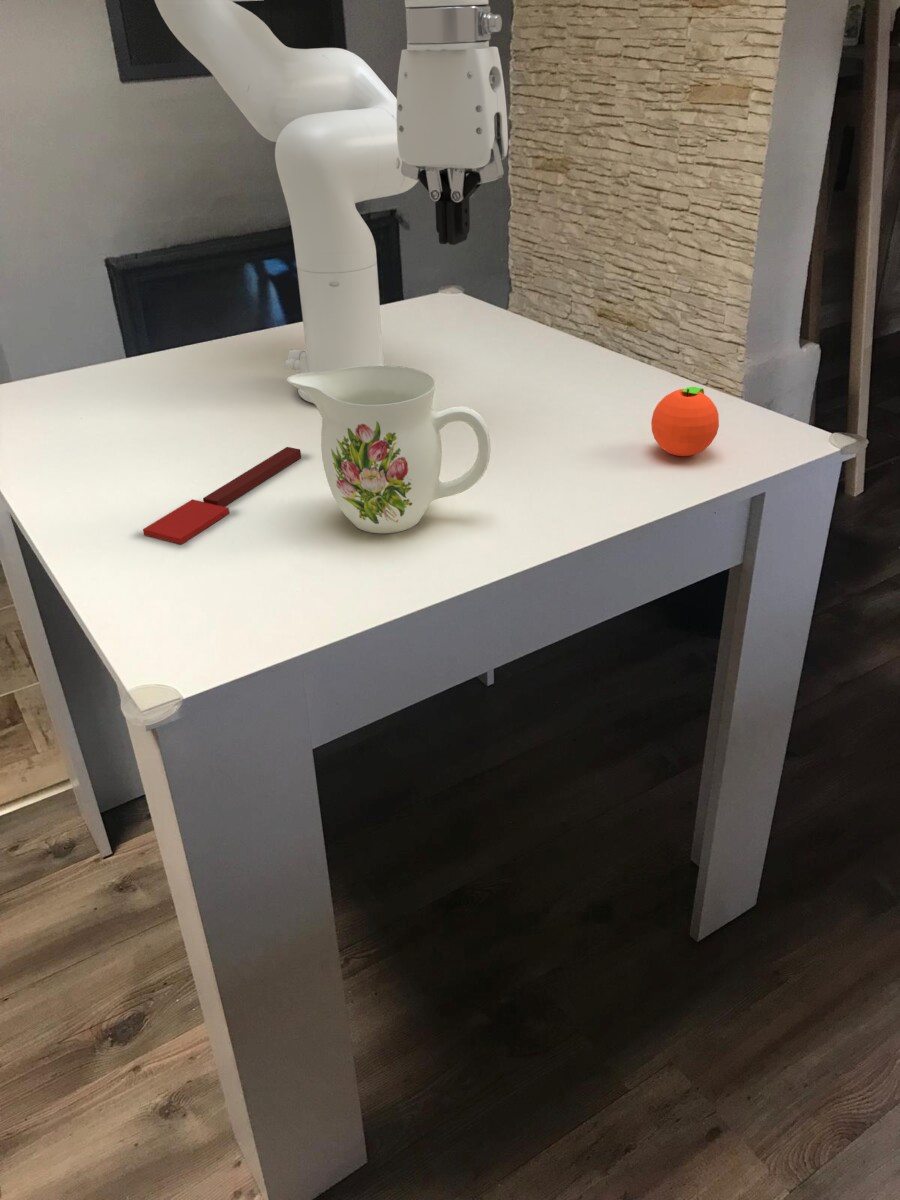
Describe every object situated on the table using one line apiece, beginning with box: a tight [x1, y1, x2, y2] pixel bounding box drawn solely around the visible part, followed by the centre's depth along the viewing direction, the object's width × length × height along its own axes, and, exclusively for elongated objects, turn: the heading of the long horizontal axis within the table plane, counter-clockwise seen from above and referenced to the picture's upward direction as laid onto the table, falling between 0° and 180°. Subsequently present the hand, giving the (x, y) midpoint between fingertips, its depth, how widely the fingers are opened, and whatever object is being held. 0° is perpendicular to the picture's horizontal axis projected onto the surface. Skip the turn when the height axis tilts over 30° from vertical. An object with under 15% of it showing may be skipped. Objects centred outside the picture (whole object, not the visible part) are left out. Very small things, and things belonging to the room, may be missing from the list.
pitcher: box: [286, 365, 491, 534], centre depth 88 cm, size 11×18×14 cm, turn 85°
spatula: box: [142, 446, 302, 545], centre depth 97 cm, size 5×21×1 cm, turn 152°
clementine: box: [650, 386, 720, 457], centre depth 101 cm, size 8×7×7 cm
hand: (453, 241), depth 97 cm, fingers closed
